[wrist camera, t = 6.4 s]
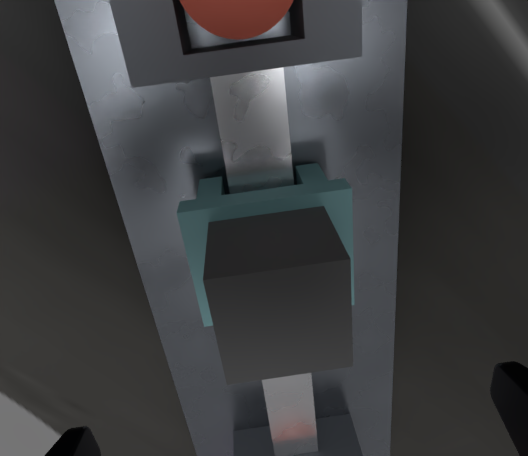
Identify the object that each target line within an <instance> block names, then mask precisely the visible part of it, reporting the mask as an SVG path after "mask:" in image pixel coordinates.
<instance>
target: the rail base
mask: <svg viewBox="0 0 528 456" xmlns="http://www.w3.org/2000/svg"><path fill="white" fill-rule="evenodd" d="M54 1H55V4H56V7H57V11H58V14H59V17H60V20H61V23H62V26H63V30H64V33H65V36H66V39H67V42H68V46H69V49H70V52H71V55H72V58H73V62H74V65H75V68H76V71H77V74H78V77H79V81H80V84H81V87H82V90H83V93H84V97H85V100H86V103H87V106H88V109H89V113H90V116H91V119H92V122H93V125H94V128H95V132H96V135H97V138H98V141H99V144H100V148H101V151H102V154H103V157H104V160H105V164H106V167H107V170H108V173H109V176H110V179H111V183H112V186H113V189H114V192H115V195H116V199H117V202H118V205H119V208H120V211H121V215H122V218H123V221H124V224H125V227H126V231H127V234H128V237H129V240H130V243H131V246H132V250H133V253H134V256H135V259H136V262H137V266H138V269H139V272H140V275H141V278H142V282H143V285H144V288H145V291H146V294H147V297H148V301H149V304H150V307H151V310H152V313H153V317H154V320H155V323H156V326H157V329H158V333H159V336H160V339H161V342H162V345H163V348H164V352H165V355H166V358H167V361H168V364H169V368H170V371H171V374H172V377H173V380H174V384H175V387H176V390H177V393H178V396H179V400H180V403H181V406H182V409H183V412H184V415H185V419H186V422H187V425H188V428H189V431H190V435H191V438H192V441H193V444H194V447H195V451H196V454H197V456H234V450H233V431H237V430H244V429H250V428H257V427H264V426H270V430H271V436H272V442H273V448H274V454H275V456H289V455H296V454H303V453H309V452H316V451H318V441H317V430H316V419H318V418H325V417H331V416H338V415H345V414H350V415H351V418H352V421H353V425H354V428H355V431H356V434H357V438H358V441H359V444H360V448H361V451H362V454H363V456H390V437H391V411H392V385H393V359H394V333H395V307H396V281H397V255H398V229H399V203H400V177H401V151H402V125H403V99H404V73H405V47H406V21H407V0H362V57H355V58H348V59H341V60H334V61H326V62H319V63H312V64H304V65H297V66H290V67H282V68H275V69H268V70H261V71H253V72H246V73H239V74H231V75H224V76H217V77H209V78H202V79H195V80H188V81H180V82H173V83H166V84H158V85H151V86H144V87H137V88H132V87H131V83H130V79H129V75H128V72H127V68H126V64H125V60H124V56H123V52H122V48H121V45H120V41H119V37H118V33H117V29H116V25H115V21H114V18H113V14H112V10H111V6H110V2H109V0H54ZM184 11H185V16H186V22H187V27H188V32H189V38H190V43H191V49H192V48H199V47H206V46H214V45H221V44H228V43H236V42H243V41H250V40H258V39H265V38H272V37H280V36H287V35H291V27H290V15H289V10H288V11H287V13H286V14H285V15H284V17H283V18H282V19H281V20H280V21H279V22H278V23H277V24H276V25H275V26H274V27H272V28H271V29H270V30H268V31H266V32H265V33H263V34H261V35H258V36H256V37H253V38H248V39H238V40H237V39H227V38H223V37H220V36H217V35H214V34H212V33H210V32H209V31H207V30H205V29H204V28H202V27H201V26H200V25H198V24H197V23H196V22H195V21H194V20H193V19H192V18H191V17H190V15H189V14H188V13H187V12H186V10H185V9H184ZM313 163H318V164H319V166H320V168H321V169H322V171H323V173H324V174H325V176H326V178H327V179H328V180H335V179H342V178H345V179H346V181H347V182H348V183H349V185H350V186H351V188H352V208H353V257H354V305H352V338H353V367H346V368H340V369H333V370H326V371H319V372H312V373H306V374H299V375H292V376H285V377H278V378H272V379H265V380H258V381H251V382H244V383H238V384H231V385H227V383H226V379H225V375H224V370H223V366H222V362H221V357H220V353H219V349H218V344H217V340H216V335H215V331H214V327H213V326H206V327H204V324H203V320H202V316H201V312H200V308H199V304H198V300H197V295H196V291H195V287H194V283H193V279H192V275H191V271H190V267H189V263H188V259H187V254H186V250H185V246H184V242H183V238H182V234H181V230H180V226H179V222H178V217H177V209H178V206H179V202H180V201H186V200H193V199H196V197H197V192H198V186H199V181H200V179H206V178H213V177H221V176H222V180H223V185H224V191H225V195H228V194H235V193H242V192H249V191H256V190H264V189H271V188H278V187H285V186H292V185H297V177H296V166H299V165H306V164H313Z"/></svg>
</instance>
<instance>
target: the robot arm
mask: <svg viewBox="0 0 528 456" xmlns="http://www.w3.org/2000/svg"><path fill="white" fill-rule="evenodd" d="M490 392H491V397H492V400H493V402H494V404H495V406H496V408H497V410H498V412H499V414H500V416H501V418H502V420H503V422H504V424H505V427H506V429H507V431H508V433H509V435H510V437H511V439H512V441H513V443H514V445H515V447H516V449H517V451H518V453H519V455H520V456H528V368H527V367H525V366H523V365H522V364H520V363H518V362H514V361H511V362H504V363H498V364H497V365H496V366H495V368H494V372H493V378H492V383H491V388H490ZM45 456H101V452H100V449H99V446H98V444H97V442H96V440H95V438H94V436H93V434H92V432H91V430H90V428H88V427H87V426H83V427H76V428H71V429H68V430H67V431H66V432H65V433H64V434H63V435H62V436H61V437H60V438H59V440H58V441H57V442H56V443H55V444H54V445H53V447H52V448H51V449H50V450H49V451H48V452H47V453H46V455H45Z"/></svg>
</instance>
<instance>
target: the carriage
mask: <svg viewBox="0 0 528 456" xmlns="http://www.w3.org/2000/svg"><path fill="white" fill-rule="evenodd" d="M296 177H297V185H292V186H285V187H278V188H271V189H264V190H256V191H249V192H242V193H235V194H228V195H225V191H224V185H223V180H222V176H221V177H213V178H206V179H200V181H199V186H198V192H197V197H196V199H193V200H186V201H180V202H179V206H178V209H177V217H178V222H179V226H180V230H181V234H182V238H183V242H184V246H185V250H186V254H187V259H188V263H189V267H190V271H191V275H192V279H193V283H194V287H195V291H196V295H197V300H198V304H199V308H200V312H201V316H202V320H203V324H204V327H206V326H213V327H214V331H215V335H216V340H217V344H218V349H219V353H220V357H221V362H222V366H223V370H224V375H225V379H226V383H227V385H231V384H238V383H244V382H251V381H258V380H265V379H272V378H278V377H285V376H292V375H299V374H306V373H312V372H319V371H326V370H333V369H340V368H346V367H353V338H352V305H354V257H353V208H352V188H351V186H350V185H349V183H348V182H347V181H346V179H345V178H342V179H335V180H328V179H327V178H326V176H325V174H324V173H323V171H322V169H321V168H320V166H319V164H318V163H313V164H306V165H299V166H296Z"/></svg>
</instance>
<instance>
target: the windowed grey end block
mask: <svg viewBox="0 0 528 456" xmlns="http://www.w3.org/2000/svg"><path fill="white" fill-rule="evenodd" d="M109 2H110V6H111V10H112V14H113V18H114V21H115V25H116V29H117V33H118V37H119V41H120V45H121V48H122V52H123V56H124V60H125V64H126V68H127V72H128V75H129V79H130V83H131V87H132V88H137V87H144V86H151V85H158V84H166V83H173V82H180V81H188V80H195V79H202V78H209V77H217V76H224V75H231V74H239V73H246V72H253V71H261V70H268V69H275V68H282V67H290V66H297V65H304V64H312V63H319V62H326V61H334V60H341V59H348V58H355V57H362V0H293V2H292V4H291V6H290V8H289V15H290V27H291V35H287V36H280V37H272V38H265V39H258V40H250V41H243V42H236V43H228V44H221V45H214V46H206V47H199V48H192V49H191V43H190V38H189V32H188V27H187V22H186V16H185V11H184V7H183V6H182V4H181V2H180V0H109ZM316 430H317V441H318V451H316V452H309V453H303V454H296V455H289V456H363V454H362V451H361V448H360V444H359V441H358V438H357V434H356V431H355V428H354V425H353V421H352V418H351V415H350V414H345V415H338V416H331V417H325V418H318V419H316ZM233 450H234V456H275V454H274V448H273V442H272V436H271V430H270V426H264V427H257V428H250V429H244V430H237V431H233Z"/></svg>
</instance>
